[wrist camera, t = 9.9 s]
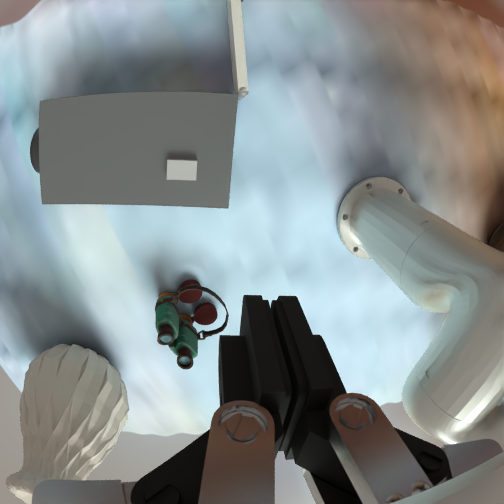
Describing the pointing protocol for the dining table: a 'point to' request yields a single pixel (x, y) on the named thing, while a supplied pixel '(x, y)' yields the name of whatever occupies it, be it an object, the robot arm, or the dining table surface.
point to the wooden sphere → (498, 238)
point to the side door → (237, 48)
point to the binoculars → (185, 321)
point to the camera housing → (136, 149)
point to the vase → (67, 416)
